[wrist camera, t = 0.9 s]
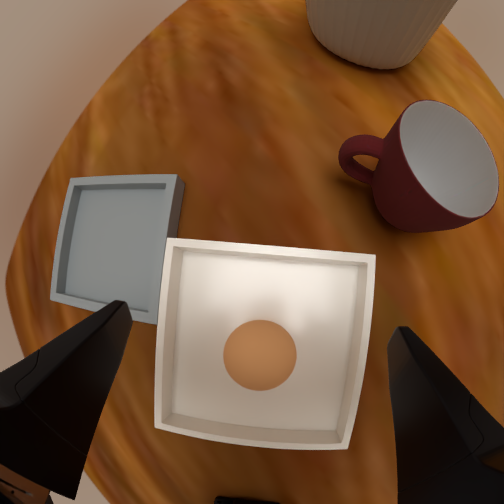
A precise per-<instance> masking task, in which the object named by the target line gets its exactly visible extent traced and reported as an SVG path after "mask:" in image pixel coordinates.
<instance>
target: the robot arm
mask: <svg viewBox="0 0 504 504" xmlns="http://www.w3.org/2000/svg"><path fill="white" fill-rule="evenodd" d="M132 323H133V320H132V316H131V313H130V310H129V307H128V304H127V302H125V301H121V300H114V301H112V302H111V303H109V304H108V305H106V306H104V307H103V308H101V309H100V310H98V311H97V312H95V313H93V314H92V315H90V316H89V317H87V318H86V319H84V320H82V321H81V322H79V323H78V324H76V325H75V326H73V327H72V328H70V329H68V330H67V331H65V332H64V333H62V334H61V335H59V336H58V337H56V338H55V339H53V340H52V341H50V342H49V343H47V344H46V345H44V346H43V347H41V348H40V349H38V350H37V351H35V352H34V353H32V354H31V355H29V356H27V357H26V358H24V359H23V360H21V361H20V362H18V363H16V364H14V365H13V366H11V367H10V368H7V369H6V370H4V371H2V372H0V504H53V501H52V499H51V496H50V495H49V493H50V491H53V492H55V493H57V494H60V495H62V496H65V497H67V498H70V499H72V500H75V497H76V494H77V490H78V486H79V483H80V479H81V475H82V472H83V468H84V465H85V462H86V458H87V454H88V451H89V448H90V445H91V442H92V439H93V436H94V433H95V430H96V427H97V424H98V421H99V418H100V415H101V412H102V410H103V407H104V404H105V401H106V399H107V396H108V393H109V391H110V388H111V386H112V383H113V380H114V378H115V375H116V373H117V370H118V368H119V365H120V363H121V360H122V357H123V354H124V350H125V347H126V343H127V340H128V337H129V333H130V330H131V327H132ZM387 354H388V370H389V389H390V397H391V404H392V412H393V421H394V431H395V442H396V456H397V478H398V492H399V493H398V504H504V427H503V426H501V425H500V424H499V423H498V422H497V421H496V420H495V419H494V418H493V417H492V416H491V415H490V414H489V413H488V411H487V410H486V409H485V408H484V407H483V406H482V405H481V404H480V403H479V402H478V401H477V399H476V398H475V397H474V396H473V395H472V394H470V392H469V390H468V389H467V388H466V387H465V386H464V385H463V384H462V383H461V382H460V380H459V379H458V378H457V377H456V376H455V375H454V374H453V373H452V372H451V371H450V369H449V368H448V367H447V366H446V365H445V364H444V363H443V362H442V361H441V360H440V359H439V358H438V357H437V356H436V355H435V353H434V352H433V351H432V350H431V349H430V348H429V347H428V346H427V345H426V344H425V343H424V342H423V341H422V340H421V339H420V338H419V337H418V336H417V335H416V334H415V333H414V332H413V331H412V330H411V329H410V328H409V327H407V326H398V327H396V329H395V330H394V332H393V334H392V336H391V338H390V340H389V342H388V346H387ZM218 500H220V501H218ZM214 504H279V503H271V502H257V501H247V500H239V499H232V498H225V497H216V498H215V501H214Z"/></svg>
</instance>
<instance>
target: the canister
mask: <svg viewBox="0 0 504 504" xmlns="http://www.w3.org/2000/svg"><path fill="white" fill-rule="evenodd" d="M456 2H457V0H306V8H307V16H308V22H309V25H310V27H311V30H312V32H313V34H314V35H315V37H316V39H317V40H318V41H319V42H320V43H321V44H322V45H323V46H324V47H326V48H327V49H328V50H329V51H332V52H333V53H334V54H335V55H338V56H340V57H341V58H343V59H346V60H348V61H349V62H353V63H356V64H357V65H362V66H364V67H371V68H378V69H395V68H398V67H402V66H404V65H406V64H408V63H409V62H411V61H412V60H413V59H414V58H415V57H416V56H417V55H418V53H419V52H420V51H421V50H422V48H423V47H424V46H425V45H426V43H427V42H428V41H429V39H430V38H431V37H432V35H433V34H434V33H435V31H436V30H437V29H438V27H439V26H440V24H441V23H442V21H443V20H444V19H445V17H446V16H447V14H448V13H449V12H450V10H451V9H452V7H453V6H454V4H455V3H456Z"/></svg>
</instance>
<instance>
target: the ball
mask: <svg viewBox="0 0 504 504" xmlns="http://www.w3.org/2000/svg"><path fill="white" fill-rule="evenodd" d="M223 359H224V365H225V368H226V370H227V372H228V374H229V375H230V377H231V378H232V379H233V380H234V381H235V382H236V383H238V384H239V385H240V386H242V387H244V388H247V389H250V390H255V391H265V390H270V389H273V388H275V387H277V386H279V385H281V384H282V383H283V382H285V381H286V380H287V379H288V378H289V376H290V375H291V373H292V372H293V370H294V367H295V364H296V359H297V352H296V346H295V343H294V341H293V339H292V337H291V335H290V334H289V333H288V332H287V331H286V330H285V329H284V328H283V327H282V326H280V325H278V324H276V323H274V322H271V321H267V320H253V321H249V322H246V323H244V324H242V325H240V326H239V327H237V328H236V329H235V330H234V331H233V332H232V333H231V334H230V336H229V337H228V339H227V341H226V343H225V346H224V351H223Z"/></svg>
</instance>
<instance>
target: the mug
mask: <svg viewBox="0 0 504 504" xmlns="http://www.w3.org/2000/svg"><path fill="white" fill-rule="evenodd" d="M355 155H370V156H373V157H376V158H378V159H379V161H378V164H377V167H376V169H375V171H372V170H369V169H367V168H366V167H364V166H362V165H361V164H359V163H358V162H357V161H355V160H354V159H353V158H352V157H353V156H355ZM338 159H339V164H340V166H341V168H342V169H343V170H344V172H345V173H347V174H348V175H349V176H351V177H353V178H355V179H357V180H359V181H361V182H364V183H367V184H369V185H371V187H372V191H373V197H374V200H375V204H376V206H377V208H378V210H379V212H380V214H381V215H382V217H383V218H384V219H385V220H386V221H387V222H388V223H390V224H391V225H392V226H394V227H396V228H398V229H400V230H402V231H406V232H411V233H421V232H431V231H442V230H450V229H455V228H458V227H462V226H464V225H466V224H469V223H471V222H473V221H475V220H477V219H479V218H481V217H483V216H485V215H486V214H487V213H488V212H489V211H490V210H491V209H492V208H493V206H494V204H495V202H496V200H497V196H498V191H499V176H498V170H497V165H496V162H495V159H494V156H493V154H492V151H491V149H490V147H489V145H488V143H487V142H486V140H485V138H484V137H483V135H482V134H481V132H480V131H479V130H478V129H477V127H476V126H475V125H474V124H473V123H472V122H471V121H470V120H469V119H468V118H467V117H466V116H464V115H463V114H462V113H460V112H459V111H458V110H456V109H454V108H453V107H451V106H449V105H447V104H444V103H441V102H438V101H434V100H420V101H416V102H414V103H412V104H410V105H409V106H408V107H406V109H405V110H404V111H403V112H402V114H401V115H400V117H399V118H398V119H397V121H396V122H395V124H394V125H393V127H392V128H391V130H390V131H389V133H388V134H387V136H386V137H385V138H384V139H381V138H379V137H376V136H372V135H357V136H353V137H351V138H349V139H347V140H346V141H345V142H344V143H343V144H342V146H341V148H340V151H339V157H338Z"/></svg>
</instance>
